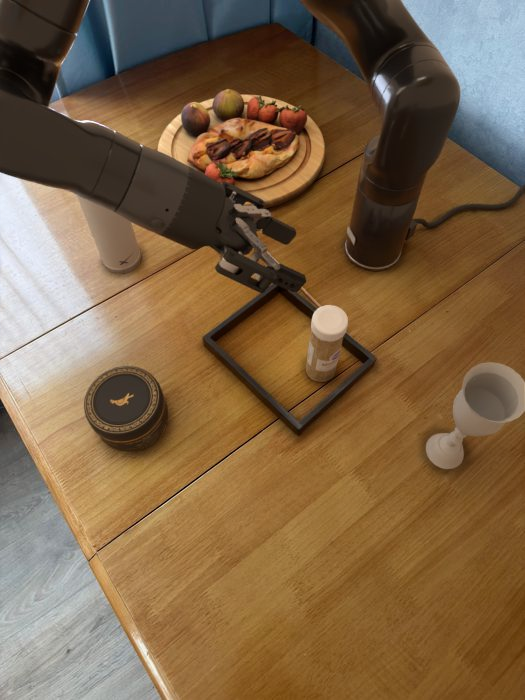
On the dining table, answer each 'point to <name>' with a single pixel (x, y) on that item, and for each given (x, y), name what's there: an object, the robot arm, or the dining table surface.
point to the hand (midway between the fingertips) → (296, 260)
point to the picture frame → (259, 391)
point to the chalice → (479, 410)
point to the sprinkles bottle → (325, 342)
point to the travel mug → (112, 237)
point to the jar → (126, 408)
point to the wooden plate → (248, 144)
